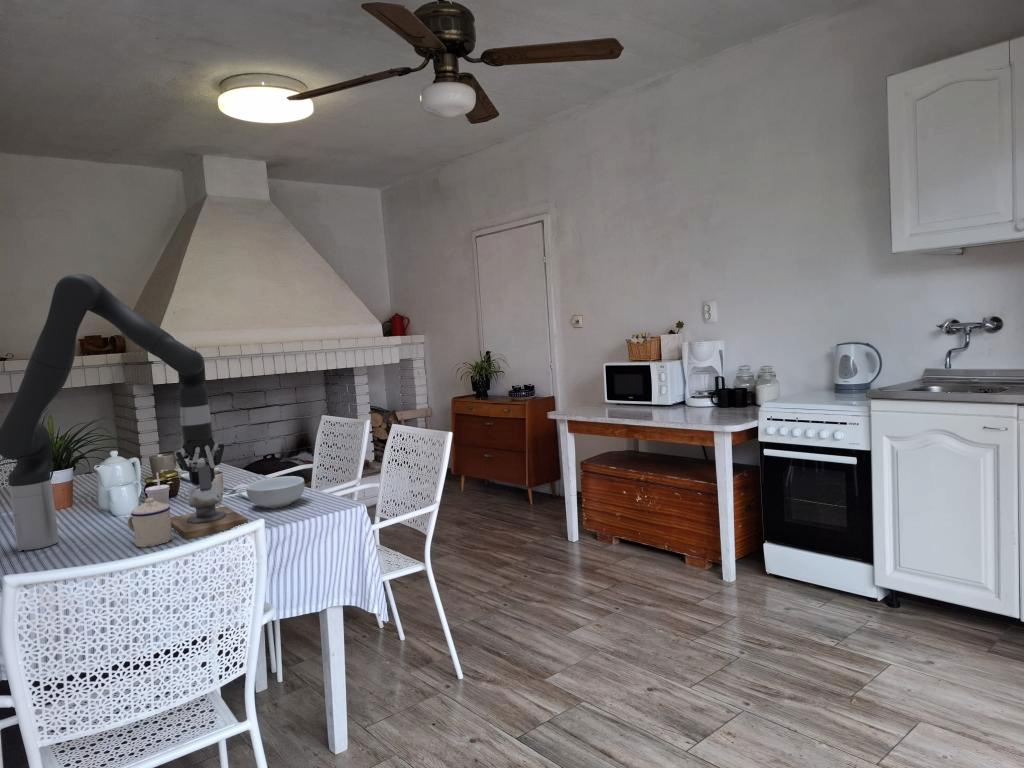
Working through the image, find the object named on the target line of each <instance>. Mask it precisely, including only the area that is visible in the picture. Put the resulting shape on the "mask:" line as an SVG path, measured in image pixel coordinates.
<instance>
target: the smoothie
mask: <svg viewBox="0 0 1024 768" xmlns="http://www.w3.org/2000/svg"><path fill="white" fill-rule="evenodd" d="M159 475H160V474H159V472H156V482H157V485H153V486H149V487H146V488H145V494H147V498H153V499H154V501H158V502H160V503H165V504H168V505H169V499H170V498H169V495H170V494H169V493H170V491H169V490H170V489H171V488H170V485H169V484H161V483H160V476H159Z"/></svg>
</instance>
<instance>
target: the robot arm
mask: <svg viewBox="0 0 1024 768" xmlns="http://www.w3.org/2000/svg"><path fill="white" fill-rule="evenodd" d="M88 311H89V312H91V313H93V314H95V315H98V316H100V317H101V318H103V319H104V320H106V321H108V322H109V323H110V324H112V325H113V326H114V327H115V328H117V329H118V331H119V332H121V333H122V334H123V335H125V337H126V338H128V340H130V341H131V342H132V343H133V344H134V345H135V344H136V346H138V347H140V348H141V349H142V350H145V352H147V353H149V354H150V355H152V356H153V357H156V358H159V360H160V361H162V362H163V363H165V364H166V365H167V366H169V367H170V368H172V369H173V370H175V371H176V372H177V373H178V381H179V389H178V398H179V399H178V400H179V405H180V411H179V412H180V414H179V416H180V425H181V433H182V435H181V436H182V441H183V444H182V448H181V449H179V450H174V451H173V452H172V455H173V457H174V459H175V461H176V462H177V464H178V466H179V469H180V470H181V471H183V472H187V473H188V477H189V483H190V484H192V485H198V479H197V472H195V471H196V466H197V463H198V462H199V460H200V459H203V462H205V463H206V464H208V465H209V466H210V473H211V482H214V480H215V479H216V475H215V467H216V466H217V467H218V466H219V465H221V463H222V459H223V454H224V450H225V444H224V443H222V442H220V443H219V442H218V443H217V442H215V441H214V438H213V437H214V433H213V429H212V428H213V427H212V418H211V411H210V407H209V401H208V392H207V387H206V368H205V360H204V357H203V355H202V354H201V353H200V352H199V351H197V350H195V349H191V348H190V347H188V346H187V345H185V344H183V343H181V342H180V341H178V340H177V339H176V338H175V337H174V336H173V335H171V334H170V333H169V332H167V331H166V330H165V329H162V328H161V327H160V326H158V325H157V324H155V323H153V322H152V321H150V320H149V319H147V318H146V317H144V316H142V315H141V314H140V313H138V312H136V311H135V310H134V309H132V308H131V307H129V306H128V305H126V304H125V303H124V302H122V301H121V299H119V298H118V297H116V295H115V294H113V293H112V292H111V291H110V290H109V289H107V287H105V286H104V285H103V284H101V282H99V280H97V279H96V278H95V277H93V276H91V275H89V274H85V273H76V274H75V273H74V274H69V275H66V276H63V277H62V278H60V279H59V280H58V281H57V283H56V285H55V287H54V289H53V293H52V298H51V302H50V307H49V309H48V314H47V318H46V321H45V324H44V326H43V327H42V330H41V332H40V334H39V336H38V338H37V341H36V344H35V346H34V348H33V351H32V353H31V355H30V358H29V361H28V363H27V366H26V368H25V372H24V374H23V375H24V376H23V378H22V380H21V382H20V384H19V388H18V390H17V392H16V395H15V398H14V401H13V403H12V405H11V407H10V409H9V411H8V412H7V414H6V417H5V419H4V421H3V422H2V425H0V456H1V457H2V458H4V459H6V460H10V461H11V460H12V461H15V460H16V465H15V466H14V468H13V470H12V471H11V472H10V473H9V474H8V477H7V479H8V480H7V481H8V488H9V489H8V490H9V495H10V502H11V503H10V504H11V510H12V513H11V514H12V519H13V528H14V533H15V534H14V535H15V542H16V548H17V552H22V550H24V551H32V550H33V549H34V550H38V549H43V548H47V547H49V546H53V545H56V544H57V543H59V542H60V540H59V531H58V523H57V516H56V515H57V514H56V507H55V501H54V493H53V485H52V477H51V473H52V469H53V452H52V450H53V449H52V440H51V439H52V438H51V435H50V432H49V430H48V429H47V427H46V426H45V425H44V424H43V423H42V422H39V421H40V418H41V416H42V414H43V412H44V411H45V409H46V408H47V407H48V406H49V405H50V403H51V402H53V400H54V399H55V398H56V396H57V395H58V394H59V393H60V391H61V390H62V389H63V388H64V386H65V384H66V382H67V379H69V376H70V373H71V370H72V367H73V364H74V361H75V356H76V348H77V347H76V345H77V335H78V331H79V329H80V327H81V324H82V322H83V319H84V317H85V316H86V314H87V313H88ZM213 449H214V454H213V455H212V453H211V452H212V451H213ZM185 454H186V455H187V456H188V458H187V459H188V460H187V462H186V460H185ZM192 485H191V486H192Z"/></svg>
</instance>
